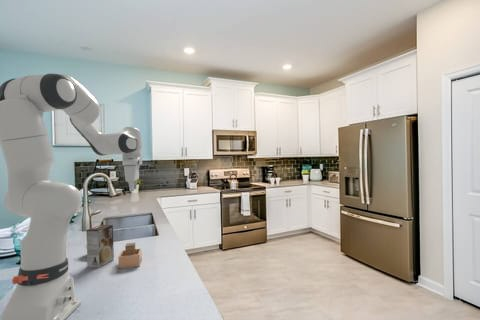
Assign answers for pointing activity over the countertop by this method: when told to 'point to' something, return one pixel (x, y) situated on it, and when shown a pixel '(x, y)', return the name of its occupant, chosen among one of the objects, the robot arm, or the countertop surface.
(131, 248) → the tan plain wooden block
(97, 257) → the coffee box
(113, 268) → the countertop surface
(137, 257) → the peach cubby shelf
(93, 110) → the robot arm
